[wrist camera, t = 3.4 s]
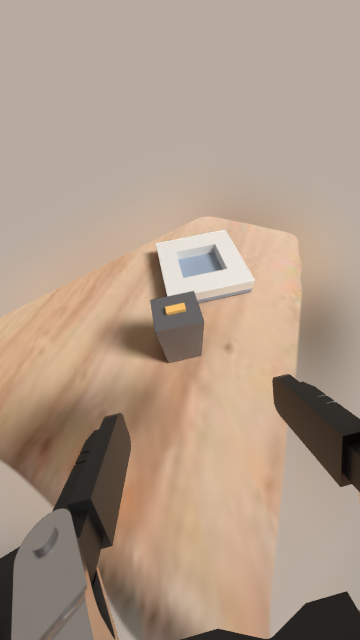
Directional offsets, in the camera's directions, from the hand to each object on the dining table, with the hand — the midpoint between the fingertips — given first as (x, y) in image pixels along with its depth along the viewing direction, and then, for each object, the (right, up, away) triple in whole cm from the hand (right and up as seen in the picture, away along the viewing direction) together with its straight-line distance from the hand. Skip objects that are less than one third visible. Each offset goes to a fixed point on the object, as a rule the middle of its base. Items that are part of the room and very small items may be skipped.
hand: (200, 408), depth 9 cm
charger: (-1, +1, +15) cm, 15 cm away
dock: (+2, +13, +22) cm, 26 cm away
